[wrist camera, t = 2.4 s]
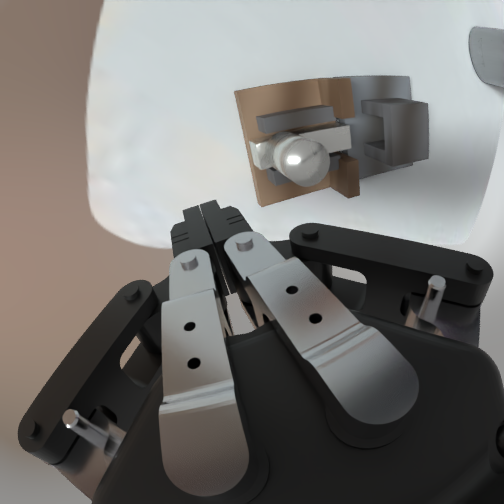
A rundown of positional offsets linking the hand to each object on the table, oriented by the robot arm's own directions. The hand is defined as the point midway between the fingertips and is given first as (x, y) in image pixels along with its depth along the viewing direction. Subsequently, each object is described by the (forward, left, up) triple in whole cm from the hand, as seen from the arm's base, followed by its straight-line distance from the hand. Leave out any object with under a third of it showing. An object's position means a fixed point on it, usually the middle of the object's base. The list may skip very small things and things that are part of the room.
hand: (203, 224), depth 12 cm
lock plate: (-14, 0, -11) cm, 18 cm away
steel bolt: (-9, 0, -10) cm, 13 cm away
